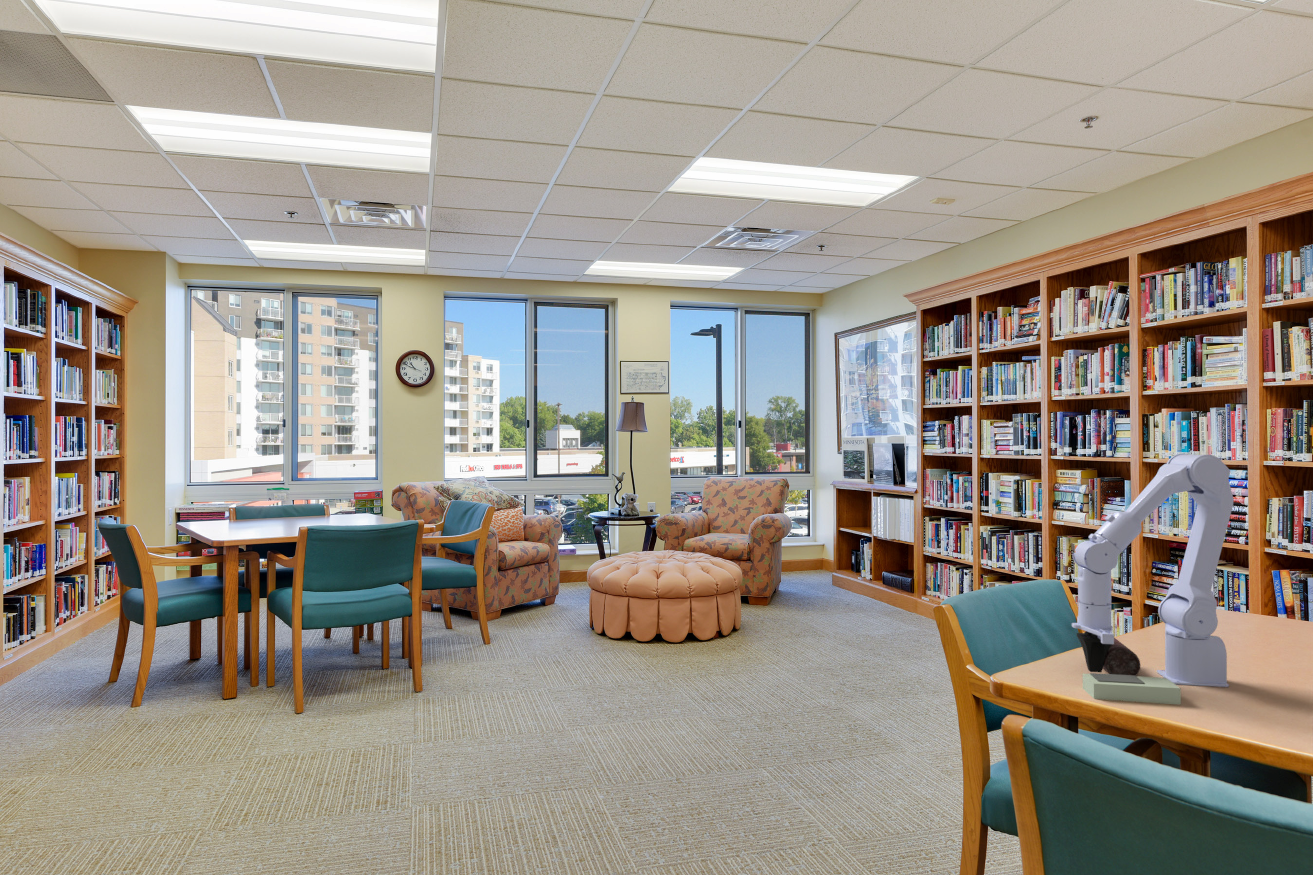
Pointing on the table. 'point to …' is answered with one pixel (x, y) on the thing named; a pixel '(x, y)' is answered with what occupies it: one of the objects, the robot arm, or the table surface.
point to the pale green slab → (1131, 688)
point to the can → (1121, 660)
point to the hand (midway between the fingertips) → (1094, 671)
